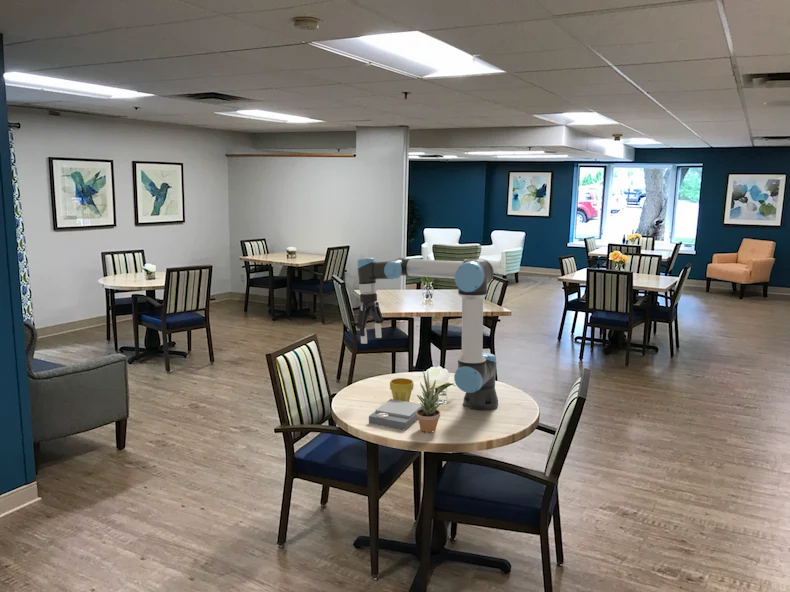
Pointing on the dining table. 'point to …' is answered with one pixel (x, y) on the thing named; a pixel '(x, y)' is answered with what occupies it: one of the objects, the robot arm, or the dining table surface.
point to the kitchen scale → (395, 414)
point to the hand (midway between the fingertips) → (371, 340)
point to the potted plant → (428, 408)
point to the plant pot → (401, 388)
